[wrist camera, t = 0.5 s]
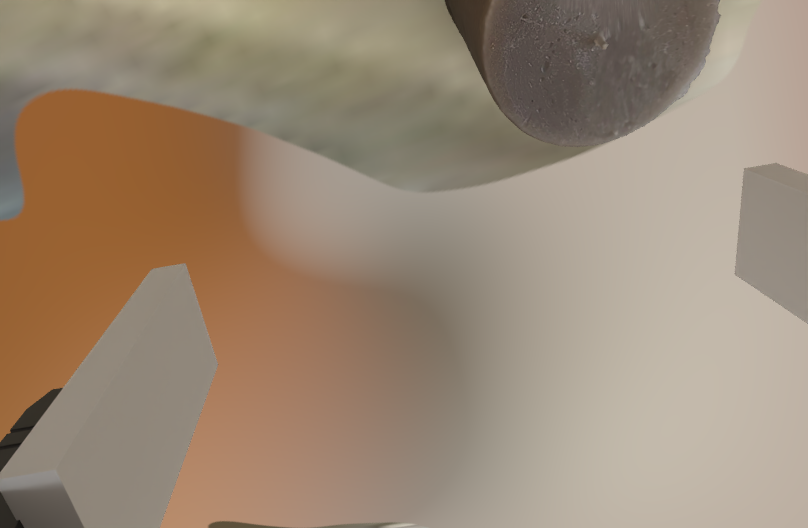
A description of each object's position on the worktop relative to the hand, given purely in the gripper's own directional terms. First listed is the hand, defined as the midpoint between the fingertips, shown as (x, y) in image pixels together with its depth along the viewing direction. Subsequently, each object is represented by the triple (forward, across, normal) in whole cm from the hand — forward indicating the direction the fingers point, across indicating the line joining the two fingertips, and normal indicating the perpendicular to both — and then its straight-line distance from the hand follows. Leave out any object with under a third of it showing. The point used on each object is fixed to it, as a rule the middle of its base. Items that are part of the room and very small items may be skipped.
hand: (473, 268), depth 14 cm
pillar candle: (+25, +9, +7) cm, 28 cm away
